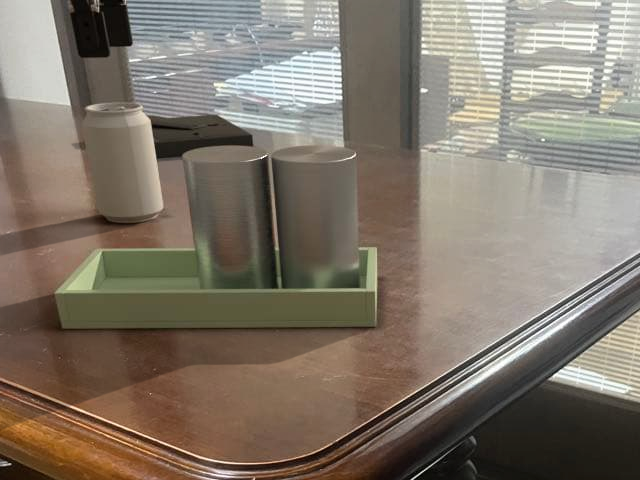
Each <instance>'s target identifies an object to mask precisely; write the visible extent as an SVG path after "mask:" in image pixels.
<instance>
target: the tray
mask: <svg viewBox="0 0 640 480" xmlns="http://www.w3.org/2000/svg"><path fill="white" fill-rule="evenodd" d="M276 257H277V269H278V281H279V289H200V285H199V277H198V270H197V263H196V255H195V248H194V247H192V248H191V247H176V248H175V247H171V248H170V247H165V248H164V247H163V248H161V247H160V248H158V247H157V248H154V247H153V248H149V247H147V248H141V247H139V248H95V249H93V251H92V252H91V253H90V254H89V255H88V256H87V257H86V258H85V260H84V261H83V262H82V263H81V264H80V265H79V266H78V267H76V269H75V270H74V271H73V272H72V273H71V274H70V275H69V277H68V278H67V279H66V280H65V281H64V282H63V283H62V284H61V285H60V286H59V287H58V288H57V290H55V292H53V294H54V299H55V303H56V307H57V311H58V317H59V320H60V324H61V329H62V330H64V329H65V330H75V329H76V330H80V329H83V330H85V329H87V330H91V329H92V330H93V329H95V330H98V329H101V330H102V329H103V330H104V329H107V330H108V329H221V328H222V329H227V328H228V329H235V328H236V329H238V328H239V329H242V328H243V329H245V328H246V329H248V328H250V329H254V328H255V329H257V328H261V329H263V328H264V329H265V328H267V329H268V328H376V327H377V307H378V306H377V305H378V304H377V303H378V302H377V301H378V248H377V246H376V247H374V246H372V247H371V246H367V247H364V246H363V247H362V246H361V247H359V277H360V288H348V289H282V284H281V272H280V259H279V247H276Z"/></svg>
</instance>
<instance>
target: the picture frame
mask: <svg viewBox="0 0 640 480" xmlns="http://www.w3.org/2000/svg"><path fill="white" fill-rule="evenodd" d="M146 116H147V117H148V118H149V119H150V120H151V127H152V134H153V140H154V147H155V153H156V159H160V158H171V157H182V155H183V154H184V153H185V152H188V151H190V150H194V149H198V148H204V147H212V146H250V147H254V139H253V134H252V133H250V132H248V131H246V130H244V129H243V128H241V127H240V126H237V125H236V124H234V123H232V122H230V121H229V120H227V119H225V118H223V117H222V116H220V115H218V114H207V115H194V116H193V115H192V116H179V117H164V116H159V115H146Z"/></svg>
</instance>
